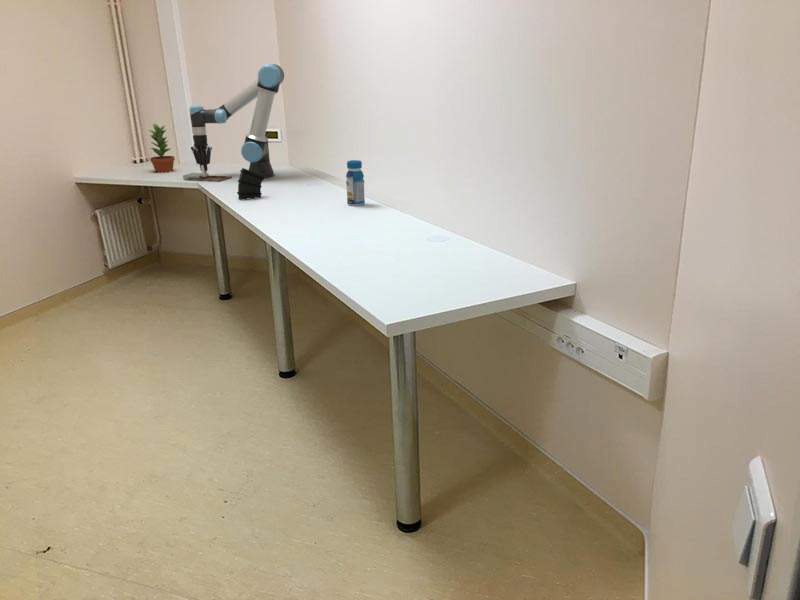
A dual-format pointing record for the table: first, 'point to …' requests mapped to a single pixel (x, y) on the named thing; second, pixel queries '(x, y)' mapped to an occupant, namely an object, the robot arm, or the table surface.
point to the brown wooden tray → (211, 178)
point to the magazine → (249, 184)
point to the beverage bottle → (355, 183)
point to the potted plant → (161, 151)
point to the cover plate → (195, 176)
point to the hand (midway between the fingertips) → (204, 176)
